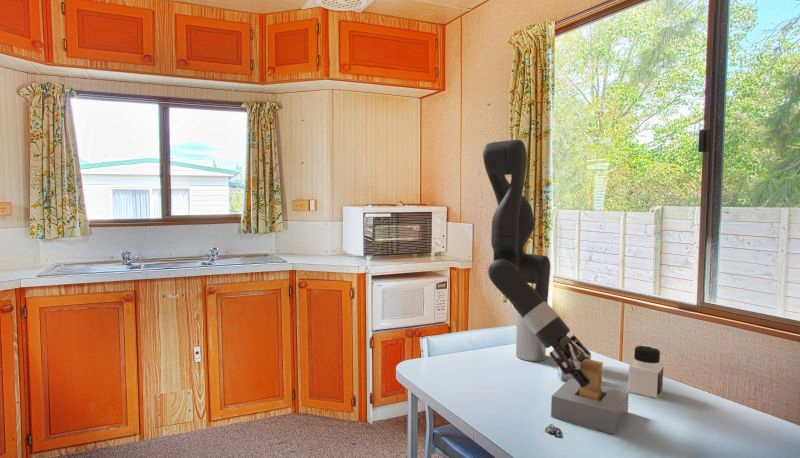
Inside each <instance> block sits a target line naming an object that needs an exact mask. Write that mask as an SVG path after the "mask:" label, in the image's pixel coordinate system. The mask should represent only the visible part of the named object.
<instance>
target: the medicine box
mask: <svg viewBox="0 0 800 458" xmlns="http://www.w3.org/2000/svg"><path fill="white" fill-rule="evenodd" d="M585 348H586V349H587V350H588V351H589V353H590V355H589V357H590V358H589V359H590V360H592V359H591V358H592V353H591V351H590V350H589V349H588V348H587V347H585ZM559 359H560V358H559ZM576 363H577V365H578V368H579V369H580V364H581V363H580V362H579V361H577V360H576ZM564 367H565V366H564ZM565 368H566V367H565ZM579 369H578V370H579ZM557 372H558V374H557V375H558V377H559V379H560V381H562V382H567V381H568V380H569V379H575V378H574V377H573V376H572V374H571V375H570V374H569V373H568V374H567V375H566V374H564V372H563V371H562V370H561V368H560V367H559V366H558V371H557ZM575 380H576V379H575Z"/></svg>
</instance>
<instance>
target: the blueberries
mask: <svg viewBox="0 0 800 458" xmlns="http://www.w3.org/2000/svg"><path fill="white" fill-rule="evenodd" d="M543 431H544V432H545V433H547V434H548V435H550V436H553V435H554V436H555V437H554V436H553V437H554V438H556V439H557V438H558V439H563V435H562V431H561V428H559V427H556V426H555V425H554V424H553V423H552V424H551V423H550V424H548V425H547V426H546V427H545V428H544V430H543ZM566 433H567V434H569V433H568V430H566Z"/></svg>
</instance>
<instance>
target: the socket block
mask: <svg viewBox="0 0 800 458" xmlns="http://www.w3.org/2000/svg"><path fill="white" fill-rule="evenodd" d="M579 388H580V384H579V383H578V382H577V381H576V380H575V379H569V380H568V381H565V383H563V384H562V385H561V387H559V388H558V389H557V390H556V391H555V392H554V393H553V394H552V395H551V405H550V406H551V407H550V408H551V409H550V417H552V418H554V419H558V420H562V421H566V422H569V423H573V424H577V425H580V426H583V427H587V428H590V429H594V430H598V431H602V432H605V433H608V434H612V435H615V434H616V432H617V431H618V429H619V427H620V426H621V424H622V423H623V421H624V419H625V418H626V416H627V415H628V412H629V394H630V392H629V391H628V390H627V391H626V390H622V389H617V388H614V387H613V388H612V387H610V386H605V385H602V392H601V401H598V400H594V399H590V398H586V397H582V396H579Z"/></svg>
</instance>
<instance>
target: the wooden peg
mask: <svg viewBox="0 0 800 458" xmlns="http://www.w3.org/2000/svg"><path fill="white" fill-rule="evenodd" d="M603 366H604V362H603V361H600V360H594V359H591V360H590V359H584V360H583V361H582V362H581V364H580V370H581V371H582V372H583V374H584V375H585V376H586V377H587V378H588V380H589V381H590V383H589V384H588V385H587V386H585V387H581V386H580V388H579V396H582V397H586V398H590V399H594V400H598V401H601V392H602V386H603V384H602V383H603V368H604V367H603Z"/></svg>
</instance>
